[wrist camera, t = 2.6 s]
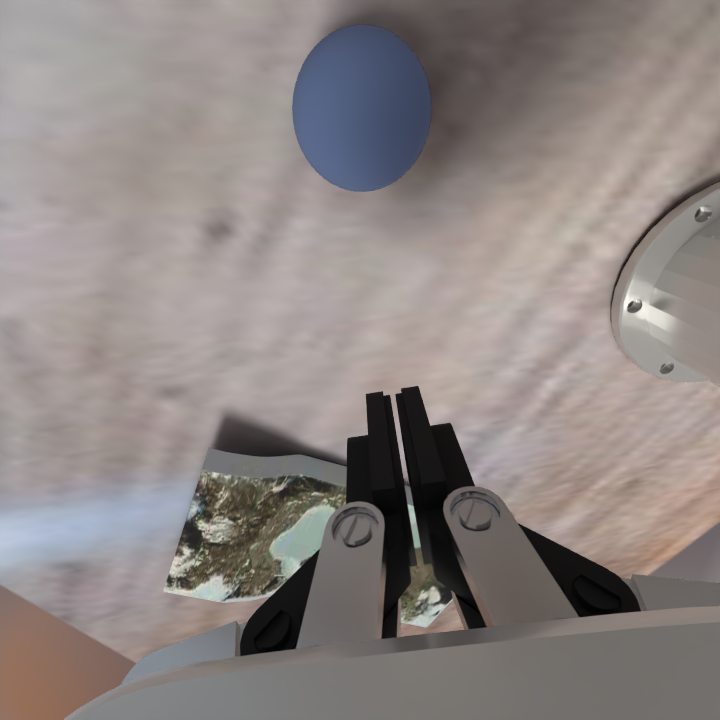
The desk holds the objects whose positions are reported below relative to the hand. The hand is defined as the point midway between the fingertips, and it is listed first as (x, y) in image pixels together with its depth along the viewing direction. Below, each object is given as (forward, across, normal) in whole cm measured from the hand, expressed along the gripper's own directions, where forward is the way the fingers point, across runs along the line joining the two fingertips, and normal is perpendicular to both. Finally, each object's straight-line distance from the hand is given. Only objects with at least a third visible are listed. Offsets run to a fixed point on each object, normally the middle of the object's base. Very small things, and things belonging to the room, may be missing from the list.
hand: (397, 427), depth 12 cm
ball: (+10, -1, -9) cm, 14 cm away
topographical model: (+13, +7, +21) cm, 26 cm away
